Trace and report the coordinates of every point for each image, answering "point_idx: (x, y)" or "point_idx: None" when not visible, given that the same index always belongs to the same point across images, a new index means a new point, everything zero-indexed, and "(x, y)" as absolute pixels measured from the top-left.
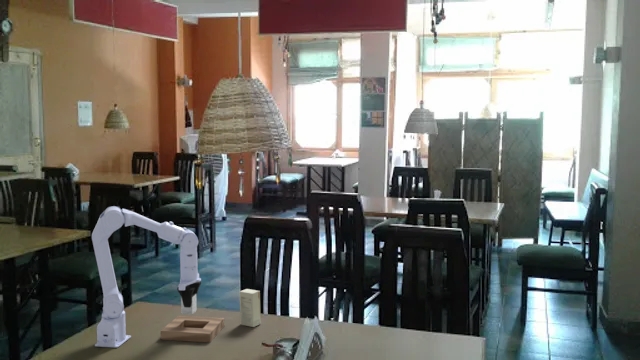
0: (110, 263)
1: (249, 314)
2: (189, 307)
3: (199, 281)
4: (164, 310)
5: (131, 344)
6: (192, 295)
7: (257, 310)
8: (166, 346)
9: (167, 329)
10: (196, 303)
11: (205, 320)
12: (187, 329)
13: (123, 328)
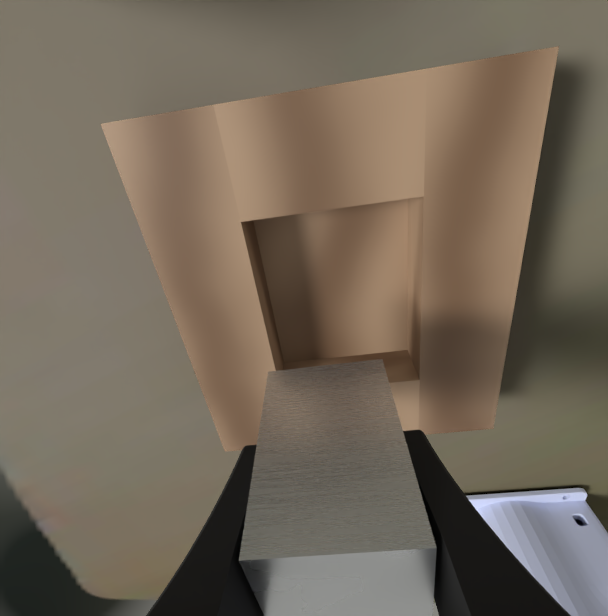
0: None
1: None
2: (422, 433)
3: None
4: (112, 519)
5: (538, 463)
6: (349, 568)
7: None
8: (575, 323)
9: (468, 407)
10: (259, 427)
11: (233, 264)
12: (457, 300)
13: (549, 561)
